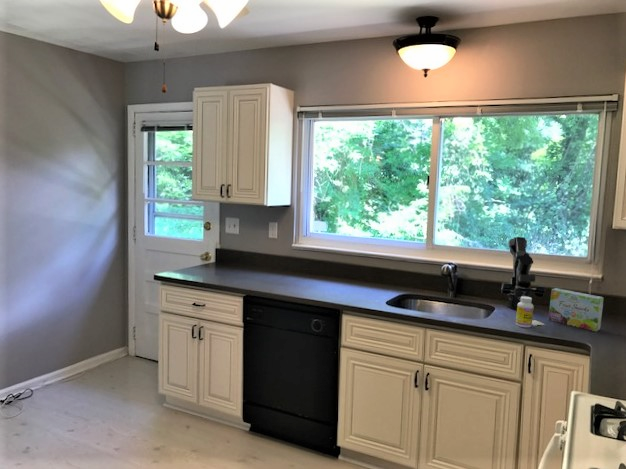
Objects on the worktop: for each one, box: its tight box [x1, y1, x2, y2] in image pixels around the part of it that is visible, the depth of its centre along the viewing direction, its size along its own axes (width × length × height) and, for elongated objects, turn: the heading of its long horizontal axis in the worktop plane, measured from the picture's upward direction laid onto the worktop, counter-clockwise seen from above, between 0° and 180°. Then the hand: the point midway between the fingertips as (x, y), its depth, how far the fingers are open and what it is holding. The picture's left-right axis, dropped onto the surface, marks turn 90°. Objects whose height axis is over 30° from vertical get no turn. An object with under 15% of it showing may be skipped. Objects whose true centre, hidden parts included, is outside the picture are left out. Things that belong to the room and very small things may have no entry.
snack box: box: [548, 287, 604, 333], centre depth 245 cm, size 21×6×15 cm, turn 45°
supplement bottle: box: [515, 296, 535, 329], centre depth 240 cm, size 7×7×13 cm
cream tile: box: [532, 319, 546, 327], centre depth 245 cm, size 6×6×1 cm
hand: (523, 305), depth 246 cm, fingers closed
